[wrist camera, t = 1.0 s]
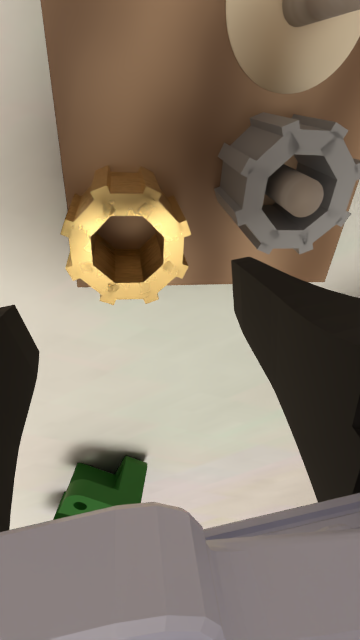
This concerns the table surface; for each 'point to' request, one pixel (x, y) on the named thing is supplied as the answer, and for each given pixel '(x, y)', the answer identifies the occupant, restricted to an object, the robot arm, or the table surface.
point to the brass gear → (125, 264)
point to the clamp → (102, 488)
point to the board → (200, 108)
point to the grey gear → (270, 154)
